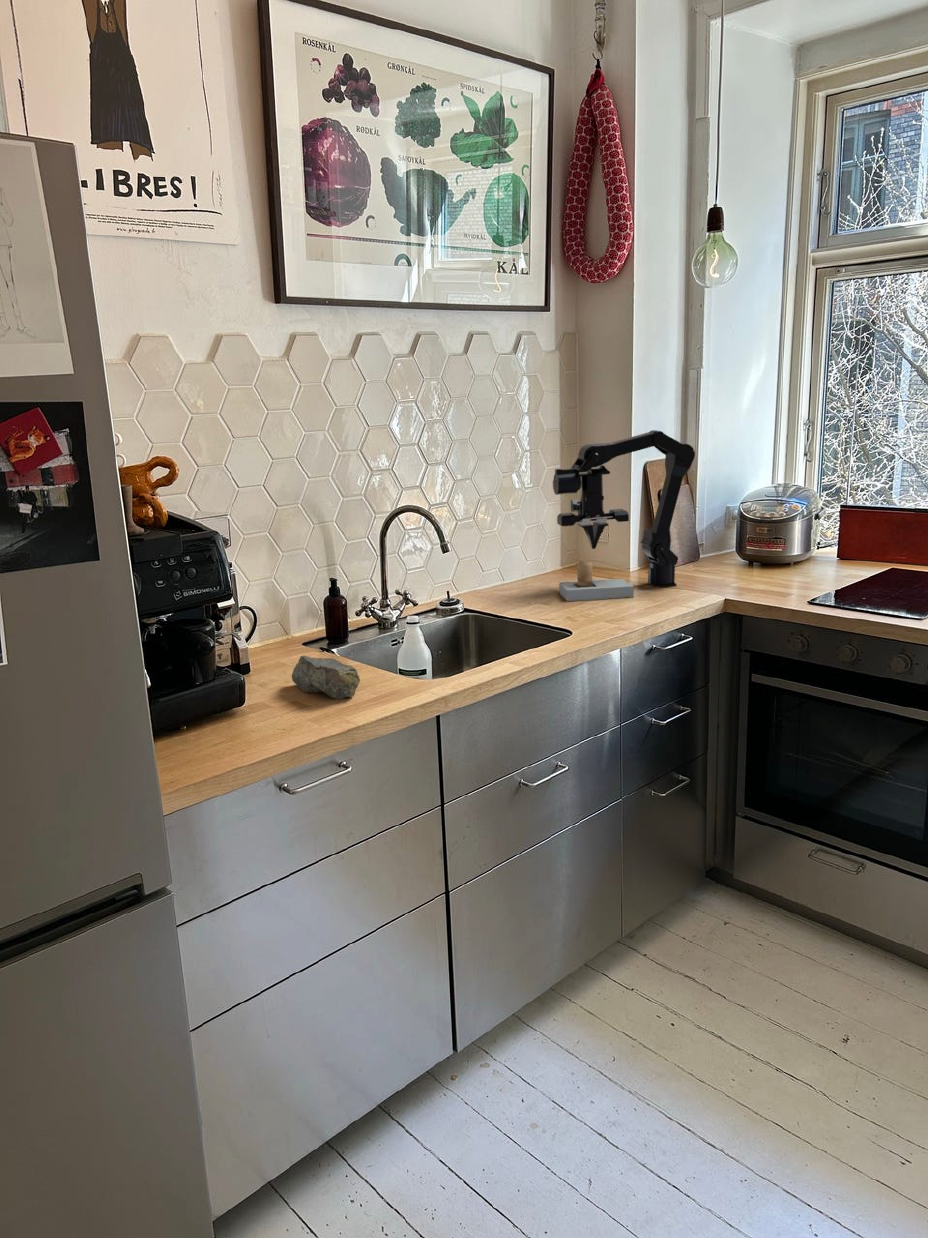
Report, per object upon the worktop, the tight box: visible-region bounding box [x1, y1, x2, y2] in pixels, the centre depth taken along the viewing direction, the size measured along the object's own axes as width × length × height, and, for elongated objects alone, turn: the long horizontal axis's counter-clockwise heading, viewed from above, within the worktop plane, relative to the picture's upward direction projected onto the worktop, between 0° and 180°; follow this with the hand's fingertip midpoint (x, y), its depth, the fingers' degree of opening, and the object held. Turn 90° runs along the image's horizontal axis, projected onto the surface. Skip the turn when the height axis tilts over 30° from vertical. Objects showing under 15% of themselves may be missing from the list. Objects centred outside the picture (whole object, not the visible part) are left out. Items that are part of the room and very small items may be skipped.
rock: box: [291, 655, 361, 700], centre depth 171 cm, size 17×7×10 cm
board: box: [558, 578, 634, 602], centre depth 241 cm, size 18×10×3 cm, turn 95°
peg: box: [576, 561, 593, 588], centre depth 240 cm, size 4×4×9 cm
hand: (593, 548), depth 244 cm, fingers closed
